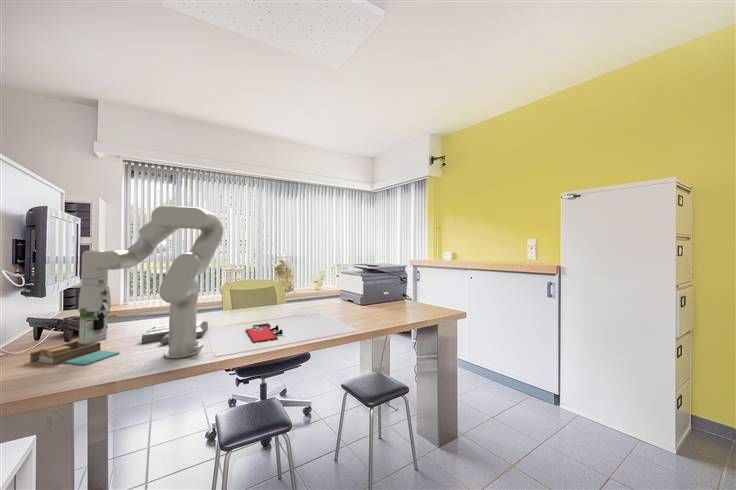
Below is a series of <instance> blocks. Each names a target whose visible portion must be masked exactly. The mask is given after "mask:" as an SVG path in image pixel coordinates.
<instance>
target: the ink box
mask: <svg viewBox="0 0 736 490" xmlns="http://www.w3.org/2000/svg"><path fill="white" fill-rule="evenodd" d="M100 311H101V310H100ZM98 314H99V315H100V314H101V313H98ZM107 317H108V316H107V315H106V316H105V319H104V328H103V329H100V330H96V331H94V330H93V327H94V320H95V314H94V312H88V313H85V311H84V309H83V308H82V309H80V312H79V321H78V322H79V325H78V341H79V344H83V345H87V344H91V343H95V342H102V341H106V340H107V325H108V324H107V323H108V322H107V321H108V319H107Z"/></svg>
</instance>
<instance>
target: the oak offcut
mask: <svg viewBox="0 0 736 490" xmlns="http://www.w3.org/2000/svg"><path fill="white" fill-rule="evenodd" d="M39 351H40V356H44V357H48V358H53V355H56V354H60V353H63V352H67V351H70V347H68V346H63V344H57V345H56V344H55V345H52V346H51V345H50V346H47V347H43V348H40V350H39Z"/></svg>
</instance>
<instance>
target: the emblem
mask: <svg viewBox="0 0 736 490" xmlns="http://www.w3.org/2000/svg"><path fill="white" fill-rule="evenodd" d="M208 326H209V323H208V321H203V320H202V321H196V339H197V338H198V339H199V338H202V337H203V336H204V335H206V332H207V331H208V329H209V327H208ZM153 342H154V343H155V342H159V343H160V344H161V345H169V323H168V324H163V325H156V326H153V327H152V328H150V329H148V330H147V331H146V332H145V333H143V334H142V335H141V345H143V344H144V345H145V344H149V343H153Z"/></svg>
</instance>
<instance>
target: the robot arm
mask: <svg viewBox="0 0 736 490" xmlns="http://www.w3.org/2000/svg"><path fill="white" fill-rule="evenodd" d="M150 218H151V220H150V221H149V222H148V223H146V224H145V225H143V226H142V227H140V228H139V230H138V235H139V238H138V239H137V241H136V242H134V243H133V244H131V246H130V247H128V248H126V249H123V250H122V249H119V250H118V249H117V250H116V249H115V250H85V251H83V252H82V255H81V277H80V278H81V281H80V289H79V294H78V295H79V296H78V308H77V311H78V312H79V313H80V309H82V308H83V309H84V311H85V313H89V312H94V314H95V320H94V327H93V330H94V331H96V330H100V329H103V328H104V319H105V316H107V315H108V314H110V313H111V307H112V300H111V289H110V286H109V285H108V282H109V281H108V280H109V279H108V278H109V277H108V276H109V270H110V271H112V270H113V271H117V270H122V269H130V268H133V267H135V266H137V265H138V264H140V263H142V261H144V260H145V259H147V258H148V257H149V256H150V255H151V254H152V253H153V252H154V250H155V249H156V248H157V247H158V245H159V244H160V243H162V242H163V241H164V240H165V239H167V238H168V237H170V236H171V235H172V234H174V233H175V232H176V231H178V230H179V229H190V230H199V231H200V234H199V235H198V236H197V238H196V239H195V241H194V243H193V245H192V247H191V249H190V250H189V251H188V252H183V253H182V254H179V255H178V256H177V257H176V258H175V259H174V260H173V261H172V262H171V266H170V267H169V268H168V271H167V273H166V275H165V276H164V278H163V280H162V281H161V285H160V287H159V292H158V293H159V297H160V299H162V300H163V302H166V303H169V304H170V305H169V311H168V312H169V313H168V314H169V315H168V316H169V317H168V324H169V343H168V349H167V350H165V351H164V352H163V356H164V358H166V359H181V358H186V357H191V356H193V355H196V354H198V353H200V352H201V351H202V349H203V347H204V345H203V344H199V340H197V338H196V322H197V320H198V319H197V314H198V313H197V311H198V299H199V293H200V292H199V291H200V290H199V289H200V286H199V282H198V281H197V280H196V277H197V276H200V275H202V274H204V273H205V272H206V271H207V269H208V267H209V265H210V263H211V261H212V260H213V257H214V255H215V253H216V251H217V249H218V246H220V243H221V241H222V238H223V236H224V226H223V223H222V221H221V220H220V218H219V216H217V215H216V214H215V213H213V212H212V211H209V210H207V209H204V208H201V207H194V206H181V205H178V206H177V205H175V206H174V205H160V206H158V207H156V208H155V209H154V210H153V211H152V212H151V216H150ZM100 310H101V311H100ZM98 313H100V315H99V314H98Z"/></svg>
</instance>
